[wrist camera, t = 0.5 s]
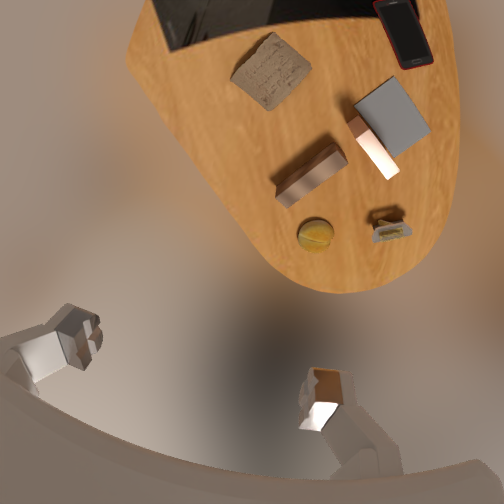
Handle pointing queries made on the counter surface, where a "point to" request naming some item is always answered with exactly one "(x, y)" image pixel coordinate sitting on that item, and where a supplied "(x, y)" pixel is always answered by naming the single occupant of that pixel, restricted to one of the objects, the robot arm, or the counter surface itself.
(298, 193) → the bar
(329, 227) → the bread roll
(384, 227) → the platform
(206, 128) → the counter surface
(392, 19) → the cell phone
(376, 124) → the mat
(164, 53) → the counter surface
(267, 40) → the clay tablet
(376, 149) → the tile
